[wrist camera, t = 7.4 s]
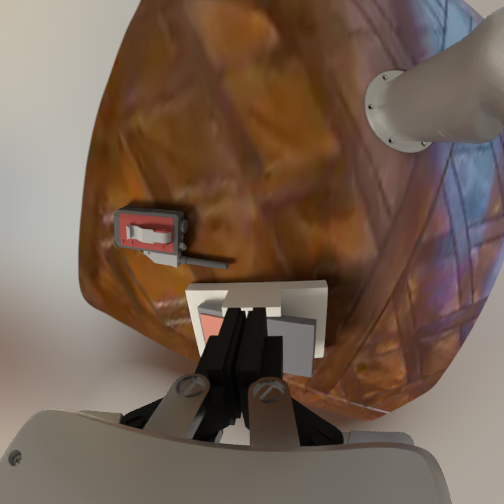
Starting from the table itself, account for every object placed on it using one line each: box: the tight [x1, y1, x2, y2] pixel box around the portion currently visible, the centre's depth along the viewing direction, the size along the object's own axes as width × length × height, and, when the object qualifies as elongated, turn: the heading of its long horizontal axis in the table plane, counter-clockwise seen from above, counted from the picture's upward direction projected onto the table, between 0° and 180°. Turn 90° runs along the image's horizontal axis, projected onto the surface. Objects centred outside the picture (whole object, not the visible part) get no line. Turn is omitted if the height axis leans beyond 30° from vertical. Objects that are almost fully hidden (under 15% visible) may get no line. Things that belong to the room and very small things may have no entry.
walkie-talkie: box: [114, 206, 228, 269], centre depth 41 cm, size 9×4×20 cm
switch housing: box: [185, 280, 328, 358], centre depth 43 cm, size 22×14×8 cm, turn 94°
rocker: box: [197, 303, 317, 377], centre depth 41 cm, size 18×10×2 cm, turn 92°
